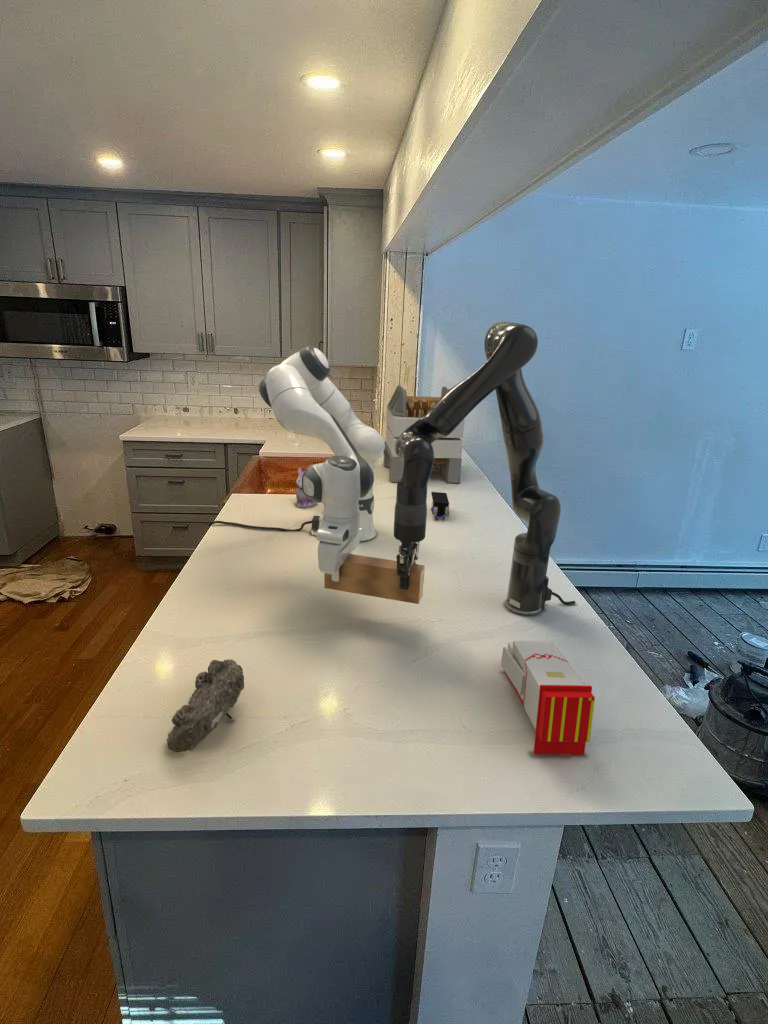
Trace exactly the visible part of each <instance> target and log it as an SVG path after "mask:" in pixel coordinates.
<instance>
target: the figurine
mask: <svg viewBox="0 0 768 1024" xmlns="http://www.w3.org/2000/svg"><path fill="white" fill-rule="evenodd" d="M306 469H307V467H306V468H305V470H306ZM305 470H304V471H303V468H302V467H298V468H297V472H298V473H297V474H298V475H297V476H298V477H297V479H296V481H295V485H296V487H297V489H296V492H295V498H296V507H298V508H309V507H314V506H315V505H317V503H316V502H314V501H312V500H310V499H309V498H308V497H307V496H306V495H305V494H304V493H303V489H302V476H303V474H304V472H305Z"/></svg>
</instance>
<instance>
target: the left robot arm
mask: <svg viewBox="0 0 768 1024" xmlns="http://www.w3.org/2000/svg"><path fill="white" fill-rule="evenodd" d="M330 370H331V369H330V363H329V361H328V358H327V357H326V355H325V353H323V352H322V351H321V350H320V349H319V348H318V347H317V346H314V345H306V346H304V347H301V348H300V349H299V351H297V352H295V353H293V354H291V355H290V356H288V357H287V358H285V359H284V360H282V362H281V363H280V364H277V365H275V366H272V367H271V369H269V370H268V372H267V374H266V375H265V376H264V377H263V378H262V379H261V380H260V382H259V386H258V392H259V394H260V395H259V396H260V397H261V399H262V400H263V401H264V403H265V404H266V405H267V406H268V407H270V408H271V410H272V412H273V415H274V417H275V420H276V421H277V423H278V424H279V425H280V426H281V428H283V429H284V430H286V431H287V432H290V433H292V434H296V435H301V436H306V437H310V438H315V439H317V440H320V441H322V442H324V443H325V444H327V446H328V447H329V448H330V450H331V451H332V453H333V455H334V456H330V457H328V458H327V459H326V460H325V461H324V462H320V463H314V464H311V465H308V466H307V467H306V468H307V469H306V468H305V469H304V471H305V472H304V471H303V472H304V474H303V476H302V489H303V493H304V494H305V495H306V496H307V497H308V498H309V499H310V500H312V501H314V502H316V504H322V505H323V510H322V512H321V514H320V515H313V517H312V519H311V520H308V521H305V522H303V523H302V524H301V525H300V527H299V528H296V529H290V528H289V529H288V528H283V527H276V526H275V527H274V526H273V527H272V526H257V525H248V524H243V523H238V522H231V521H225V520H224V521H223V520H214V521H211V522H210V523H208V525H207V526H208V527H212V526H213V525H216V524H220V525H221V524H222V525H229V526H237V527H241V528H246V529H254V530H268V531H269V530H271V531H281V532H300V531H302V530H303V529H304V527H305V526H306V525H310V524H311V530H310V533H311V536H315V538H316V541H318V545H317V564H318V570H319V572H320V573H322V574H324V573H326V574H332V580H333V581H336V582H338V581H339V579H340V575H341V573H339V569H340V566H341V565H342V564H343V563H344V561H345V560H346V559H347V557H348V556H349V555H350V554H353V552H355V550H356V549H357V547H359V545H360V542H365V541H368V540H372V539H373V538H375V537H376V535H377V532H376V528H375V523H374V513H373V512H374V509H375V496H374V482H375V471H376V467H377V464H378V461H379V459H380V458H381V457H382V456H383V455H384V450H385V442H386V441H385V438H383V436H382V435H381V434H380V432H379V431H378V430H376V429H375V428H373V427H372V426H369V425H367V424H366V423H364V422H363V421H361V420H360V419H359V418H358V416H357V415H356V413H355V412H354V410H353V408H352V407H351V403H350V402H349V400H348V399H347V398H346V397H345V396H344V394H343V393H342V392H341V391H340V390H339V389H338V388H337V386H336V385H335V384H334V383H333V381H332V380H331V379H329V377H328V376H329V374H330Z"/></svg>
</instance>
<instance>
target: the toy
mask: <svg viewBox="0 0 768 1024" xmlns="http://www.w3.org/2000/svg"><path fill="white" fill-rule="evenodd" d="M500 666H501V668H502V669H503V672H504V674H505V676H506V678H507V679H508V681H509V683H510V685H511V686H512V688H513V690H514V691H515V693H516V695H517V697H518V698H519V701H520V702H521V703H522V705H523V707H524V710H525V712H526V714H527V716H528V718H529V720H530V722H531V724H532V725H533V728H534V730H535V731H534V743H533V755H566V756H567V755H569V756H570V755H571V756H572V755H573V756H584V755H585V752H586V751H585V750H586V743H590V741H591V734H592V732H591V731H592V725H593V716H594V710H595V709H594V708H595V699H596V697H595V696H594V694H593V693H592V692H593V687H592V685H587V684H585V681H583V679H581V677H580V676H579V674H578V673H577V672H576V670H575V669H574V667H573V666H572V664H570V662H569V660H568V659H567V658H566V656H564V654H563V653H562V651H561V650H560V648H559V646H557V645H556V643H555V642H554V641H545V640H544V641H543V640H542V641H540V640H537V641H536V640H512V641H509V642H507V647H506V646H503V647H502V653H501V660H500Z"/></svg>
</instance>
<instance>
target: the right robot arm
mask: <svg viewBox="0 0 768 1024" xmlns="http://www.w3.org/2000/svg"><path fill="white" fill-rule="evenodd" d="M483 342H484V343H483V344H484V348H483V349H484V354H485V358H486V362H484V363H483V364H482V365H481V366H480V367H479V368H478V369H476V370H475V371H474V372H473V373H472V374H470V375H468V376H467V377H465V378H464V379H463V380H461V381H460V382H458V383H457V384H455V385H453V386H452V387H450V388H449V389H450V390H448V391H447V392H446V393H445V394H444V395H443V396H442V397H441V396H440V397H441V398H440V399H439V400H438V401H437V403H436V404H435V405H434V406H433V407H432V408H431V409H430V410H429V411H428V413H427V414H426V415H424V416H423V417H422V418H420V419H419V420H417V421H416V422H415V423H413V424H412V425H411V426H410V427H408V428H407V429H406V430H405V431H404V432H403V433H402V434H401V435H400V436H399V438H398V440H397V442H396V445H395V451H396V454H397V456H398V457H399V458H400V459H401V460H402V461H404V468H403V475H401V476H400V477H399V478H398V482H396V497H395V506H394V517H393V537H394V539H396V540H397V541H399V542H400V543H401V545H399V546H398V554H397V555H396V557H395V558H396V561H397V576H400V582H399V588H400V589H403V590H408V588H409V576H410V569H411V566H413V564H417V561H418V559H419V551H420V542H422V541H424V540H425V538H426V533H427V532H426V530H427V517H428V516H427V515H428V506H427V505H428V504H427V502H428V501H427V497H428V484H429V481H430V477H431V474H432V470H433V467H434V466H433V462H434V450H433V446H432V443H433V442H434V441H435V440H436V439H438V438H441V437H447V436H448V435H449V434H450V433H451V432H452V431H453V430H454V429H455V428H456V427H457V426H458V425H459V424H460V423H461V422H462V421H463V420H465V419H466V418H467V416H468V415H470V413H471V412H472V411H474V409H475V408H476V407H478V405H479V404H480V403H482V401H483V400H485V399H486V398H487V397H488V396H490V394H491V393H493V392H494V391H495V394H496V401H497V407H498V413H499V418H500V423H501V430H502V436H503V442H504V446H505V450H506V456H507V463H508V469H509V474H510V476H509V477H510V488H511V503H512V509H513V512H514V514H515V515H516V517H517V518H519V519H520V520H522V521H524V523H527V524H528V525H527V530H526V532H522V533H519V534H517V535H516V536H515V537H514V542H513V550H512V558H511V565H510V573H509V579H508V589H507V595H506V599H505V606H506V608H507V609H508V610H509V611H511V612H513V613H515V614H518V615H522V616H535V615H538V614H540V613H541V611H544V610H545V607H546V606H545V605H546V602H547V601H548V602H549V601H551V600H552V596H554V597H555V598H557V599H558V601H559V602H560V603H561V604H563V605H567V606H568V605H573V604H574V605H575V604H576V601H575V600H570V601H565V600H564V599H563V598H562V597H561V596H560V594H558V593H556V592H554V591H553V590H552V589H551V588H550V587H549V581H550V580H549V579H550V578H549V577H548V576H547V575H548V574H547V573H548V567H549V559H550V553H551V548H552V546H553V544H554V542H555V539H556V536H557V531H558V527H559V522H560V517H561V509H562V506H561V501H560V499H559V497H558V496H556V495H554V494H553V493H550V492H548V491H546V490H544V489H541V488H540V486H539V481H538V477H537V470H536V467H537V462H538V459H539V457H540V454H541V452H542V450H543V445H544V430H543V423H542V418H541V413H540V411H539V409H538V406H537V404H536V402H535V400H534V398H533V395H532V394H531V392H530V390H529V389H528V386H527V384H526V382H525V379H524V376H523V375H524V374H523V369H522V368H523V367H525V366H526V365H527V364H528V363H529V362H530V361H531V360H532V359H533V358H534V357H535V355H536V352H537V350H538V348H539V347H538V345H539V338H538V335H537V333H536V331H535V330H534V328H532V327H531V326H529V325H527V324H525V323H524V324H523V323H519V322H511V321H498V322H495V323H493V324H492V325H491V326H490V327H489V328H488V330H487V331H486V333H485V336H484V341H483ZM402 569H404V570H405V571H404V570H402Z"/></svg>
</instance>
